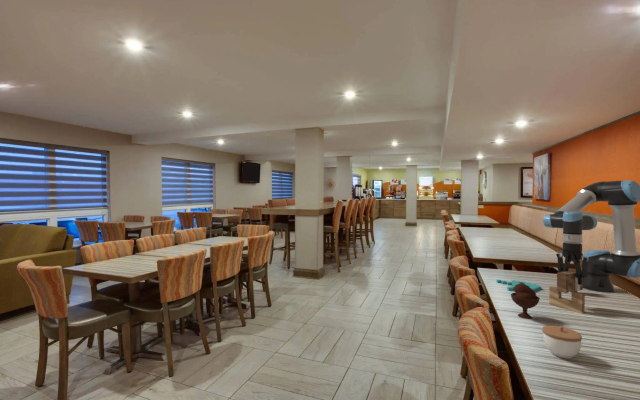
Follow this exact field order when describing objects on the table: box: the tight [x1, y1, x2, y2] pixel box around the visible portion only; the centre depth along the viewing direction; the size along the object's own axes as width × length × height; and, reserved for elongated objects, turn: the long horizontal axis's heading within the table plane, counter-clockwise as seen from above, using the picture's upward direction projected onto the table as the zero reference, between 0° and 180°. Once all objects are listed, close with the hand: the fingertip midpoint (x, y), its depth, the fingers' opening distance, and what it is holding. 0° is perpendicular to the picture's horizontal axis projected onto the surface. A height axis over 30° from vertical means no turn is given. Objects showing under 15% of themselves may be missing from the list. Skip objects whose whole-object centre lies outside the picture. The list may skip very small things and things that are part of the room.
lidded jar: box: [541, 325, 583, 360], centre depth 106 cm, size 11×11×9 cm
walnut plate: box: [556, 269, 584, 294], centre depth 152 cm, size 14×4×9 cm, turn 114°
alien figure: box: [495, 279, 542, 293], centre depth 188 cm, size 20×2×20 cm
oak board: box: [548, 285, 586, 314], centre depth 151 cm, size 2×14×9 cm, turn 24°
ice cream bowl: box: [510, 284, 540, 320], centre depth 140 cm, size 11×11×15 cm
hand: (572, 289), depth 153 cm, fingers closed on walnut plate, 4 cm apart
